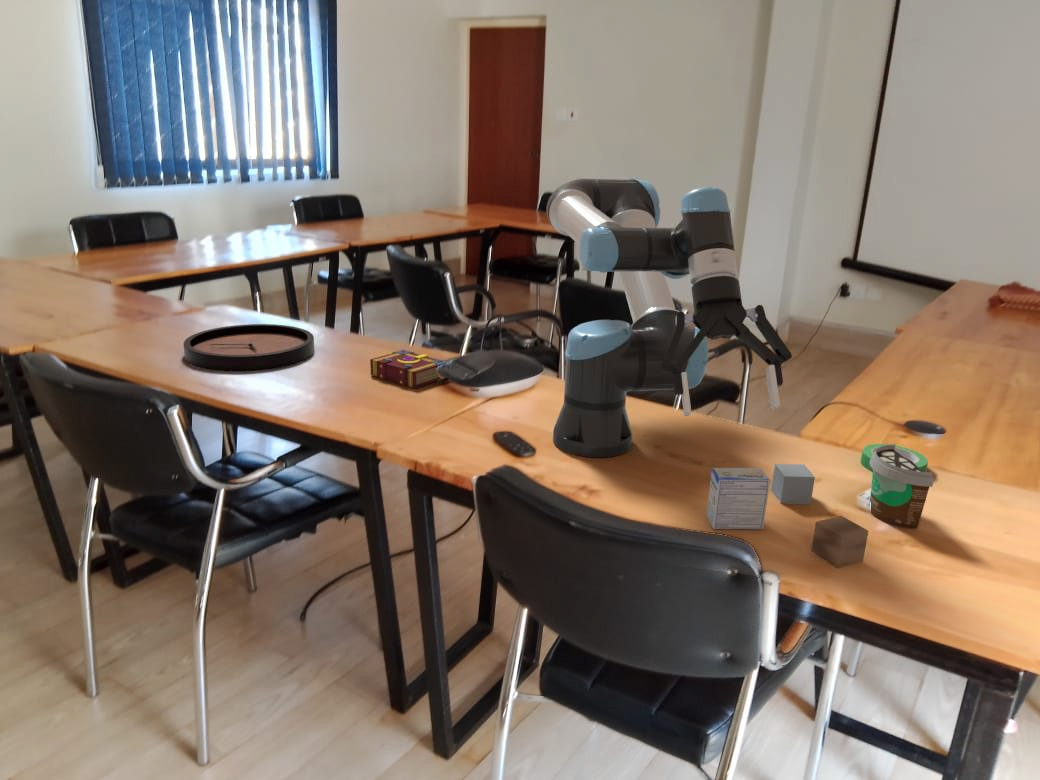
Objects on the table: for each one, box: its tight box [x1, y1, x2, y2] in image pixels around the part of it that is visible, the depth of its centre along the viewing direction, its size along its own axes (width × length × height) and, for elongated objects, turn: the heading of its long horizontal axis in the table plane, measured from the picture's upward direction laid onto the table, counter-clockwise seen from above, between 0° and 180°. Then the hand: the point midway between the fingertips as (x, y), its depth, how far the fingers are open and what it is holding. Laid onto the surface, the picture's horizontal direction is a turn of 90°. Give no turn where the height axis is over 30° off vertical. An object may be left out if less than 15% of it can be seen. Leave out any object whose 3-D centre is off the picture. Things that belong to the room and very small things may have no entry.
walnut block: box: [811, 515, 869, 569], centre depth 116 cm, size 5×5×5 cm
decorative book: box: [369, 349, 449, 389], centre depth 190 cm, size 11×16×5 cm
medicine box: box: [706, 467, 771, 530], centre depth 124 cm, size 8×4×9 cm, turn 92°
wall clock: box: [183, 323, 316, 373], centre depth 205 cm, size 31×4×31 cm
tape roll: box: [860, 443, 929, 473], centre depth 148 cm, size 11×11×3 cm
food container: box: [869, 443, 934, 530], centre depth 128 cm, size 12×6×10 cm, turn 4°
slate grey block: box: [770, 463, 816, 505], centre depth 134 cm, size 5×5×5 cm
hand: (731, 411), depth 125 cm, fingers open, 13 cm apart
